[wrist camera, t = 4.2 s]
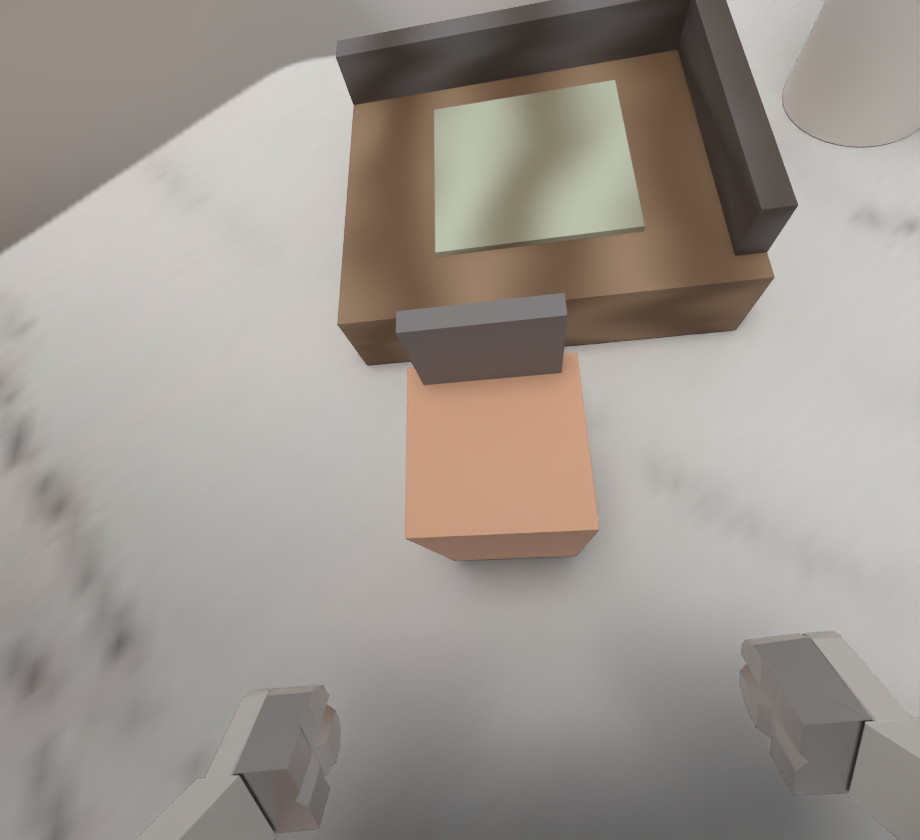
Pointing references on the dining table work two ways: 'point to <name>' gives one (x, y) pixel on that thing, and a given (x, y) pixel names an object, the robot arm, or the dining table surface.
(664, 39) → the dock
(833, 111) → the cylindrical container
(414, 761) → the dining table surface
